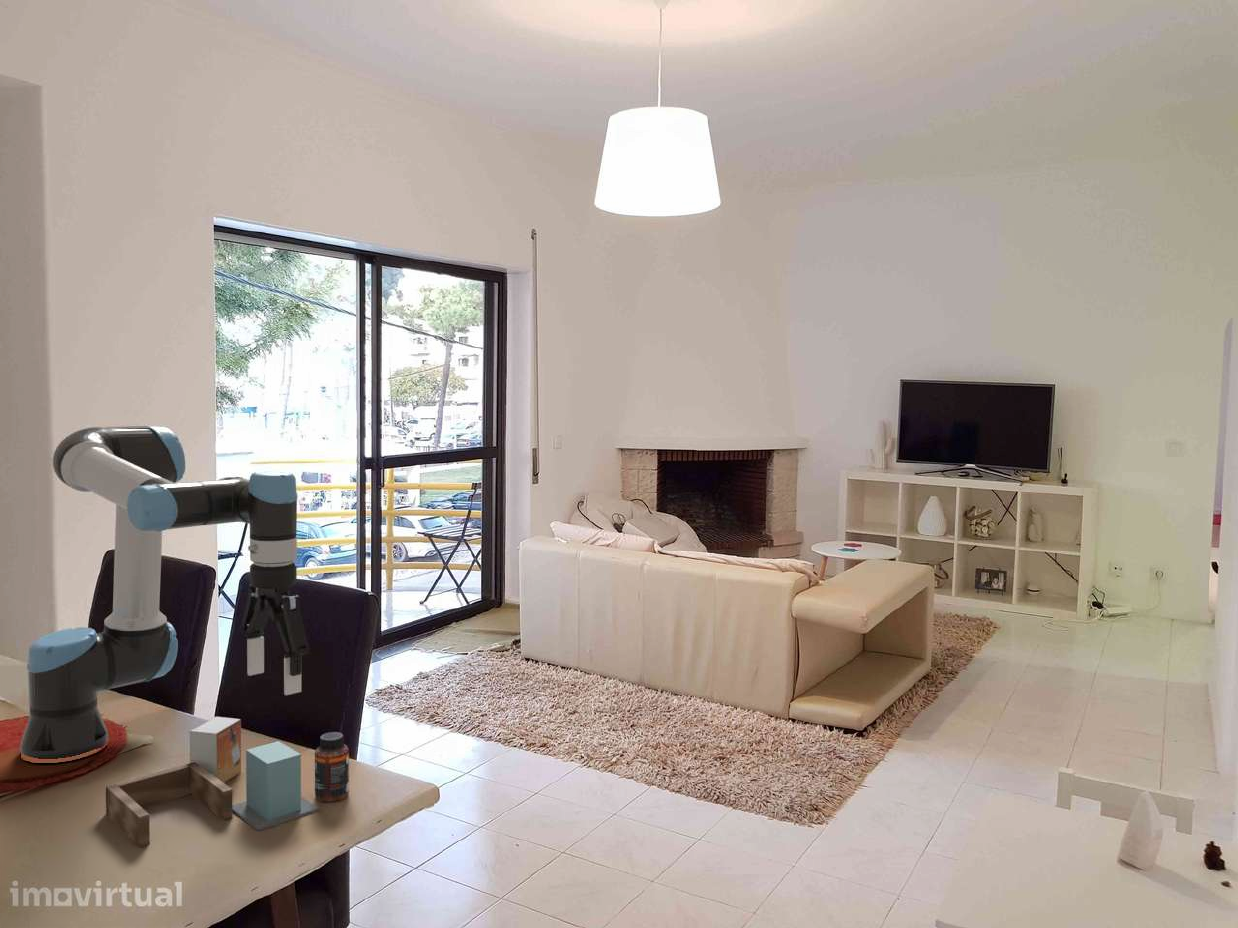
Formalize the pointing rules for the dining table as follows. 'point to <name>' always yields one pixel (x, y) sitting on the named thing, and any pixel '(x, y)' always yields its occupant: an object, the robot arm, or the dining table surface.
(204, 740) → the small box
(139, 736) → the dining table surface
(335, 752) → the supplement bottle
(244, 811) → the mat
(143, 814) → the frame
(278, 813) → the block
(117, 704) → the dining table surface
